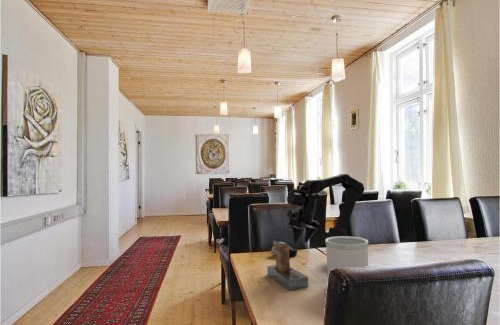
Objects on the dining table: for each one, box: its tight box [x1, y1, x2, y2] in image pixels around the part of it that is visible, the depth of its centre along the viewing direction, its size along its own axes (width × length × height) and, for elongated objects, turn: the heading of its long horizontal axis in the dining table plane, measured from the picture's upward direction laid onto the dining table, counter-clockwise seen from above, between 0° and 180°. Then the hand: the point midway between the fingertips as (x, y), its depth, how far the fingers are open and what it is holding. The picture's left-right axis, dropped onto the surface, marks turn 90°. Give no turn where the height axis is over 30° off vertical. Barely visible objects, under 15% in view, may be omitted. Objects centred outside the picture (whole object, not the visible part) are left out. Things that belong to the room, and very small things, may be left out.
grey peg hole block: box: [266, 264, 309, 291], centre depth 118 cm, size 18×8×4 cm, turn 22°
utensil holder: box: [324, 235, 369, 276], centre depth 109 cm, size 15×15×18 cm
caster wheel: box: [270, 240, 298, 257], centre depth 154 cm, size 7×11×10 cm
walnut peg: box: [275, 243, 291, 272], centre depth 121 cm, size 4×4×13 cm
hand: (300, 242), depth 133 cm, fingers open, 9 cm apart
